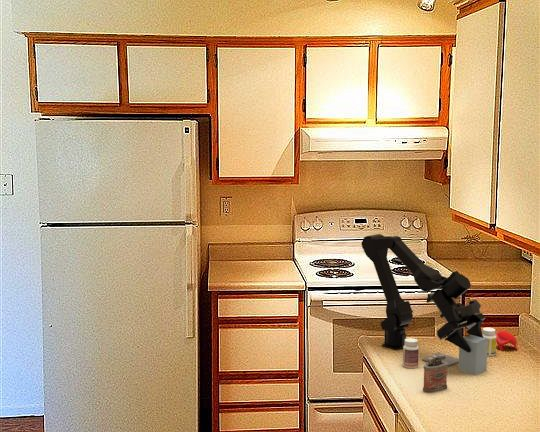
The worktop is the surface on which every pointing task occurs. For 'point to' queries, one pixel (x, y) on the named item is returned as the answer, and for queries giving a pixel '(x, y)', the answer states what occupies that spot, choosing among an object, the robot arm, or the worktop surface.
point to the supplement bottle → (490, 340)
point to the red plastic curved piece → (505, 339)
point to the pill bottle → (410, 353)
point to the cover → (474, 355)
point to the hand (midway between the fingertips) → (477, 349)
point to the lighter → (435, 374)
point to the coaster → (448, 359)
